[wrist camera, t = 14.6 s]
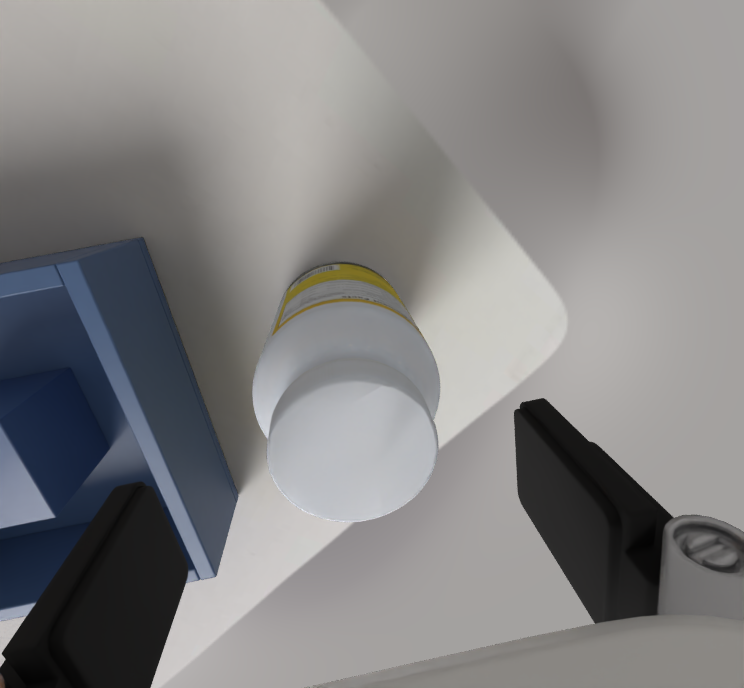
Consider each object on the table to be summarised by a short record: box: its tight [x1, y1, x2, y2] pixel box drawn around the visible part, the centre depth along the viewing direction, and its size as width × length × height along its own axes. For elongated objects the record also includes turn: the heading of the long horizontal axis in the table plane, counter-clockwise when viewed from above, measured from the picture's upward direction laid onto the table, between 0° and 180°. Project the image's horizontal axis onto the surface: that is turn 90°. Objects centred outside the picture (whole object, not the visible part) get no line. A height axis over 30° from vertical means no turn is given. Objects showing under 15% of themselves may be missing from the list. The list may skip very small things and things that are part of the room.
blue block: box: [0, 367, 110, 529], centre depth 20 cm, size 5×5×5 cm
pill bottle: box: [252, 262, 440, 522], centre depth 17 cm, size 6×6×12 cm
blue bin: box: [0, 237, 238, 621], centre depth 20 cm, size 16×16×6 cm
